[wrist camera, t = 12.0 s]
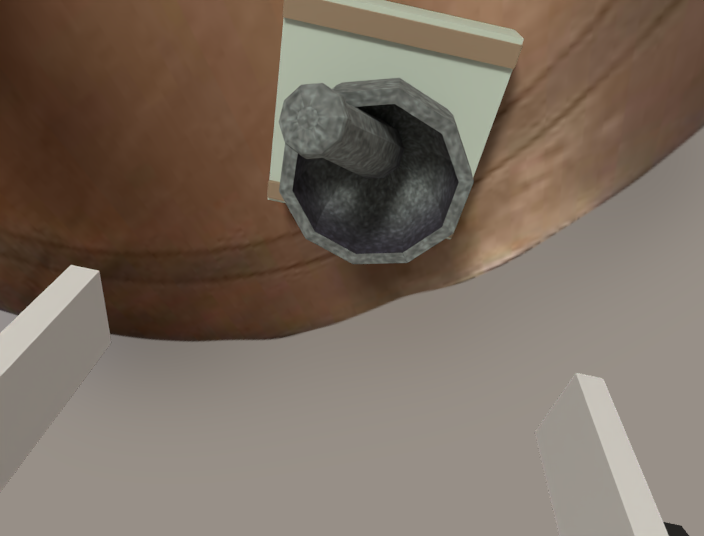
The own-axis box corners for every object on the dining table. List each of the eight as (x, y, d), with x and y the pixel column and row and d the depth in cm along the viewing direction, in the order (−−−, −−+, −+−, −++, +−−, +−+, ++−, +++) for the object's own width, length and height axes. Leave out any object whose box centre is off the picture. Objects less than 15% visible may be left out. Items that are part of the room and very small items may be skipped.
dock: (278, 181, 35) (266, 201, 33) (298, -20, 28) (285, -15, 25) (448, 218, 35) (450, 241, 33) (514, 29, 28) (524, 40, 25)
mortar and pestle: (478, 182, 30) (507, 299, 21) (346, 226, 33) (316, 346, 24) (419, -3, 25) (419, 37, 15) (267, 70, 28) (186, 143, 18)
